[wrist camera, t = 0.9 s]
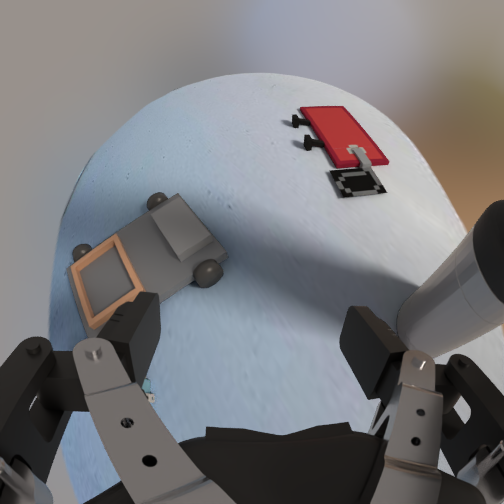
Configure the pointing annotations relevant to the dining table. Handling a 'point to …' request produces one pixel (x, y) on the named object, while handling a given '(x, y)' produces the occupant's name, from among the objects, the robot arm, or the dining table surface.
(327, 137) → the red board with handle
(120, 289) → the chassis
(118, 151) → the dining table surface
